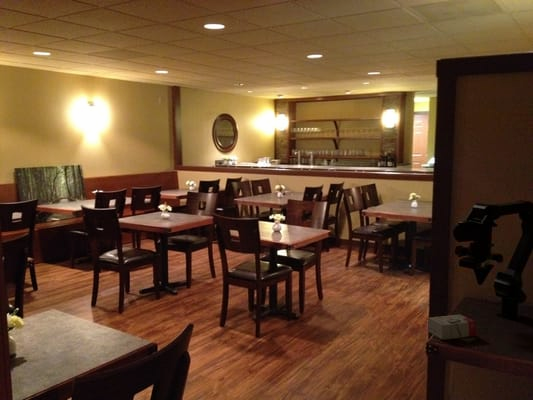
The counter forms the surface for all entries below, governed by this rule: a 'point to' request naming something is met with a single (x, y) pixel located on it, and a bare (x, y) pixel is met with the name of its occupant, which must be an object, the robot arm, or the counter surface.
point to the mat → (467, 339)
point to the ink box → (451, 326)
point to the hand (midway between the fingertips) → (479, 284)
